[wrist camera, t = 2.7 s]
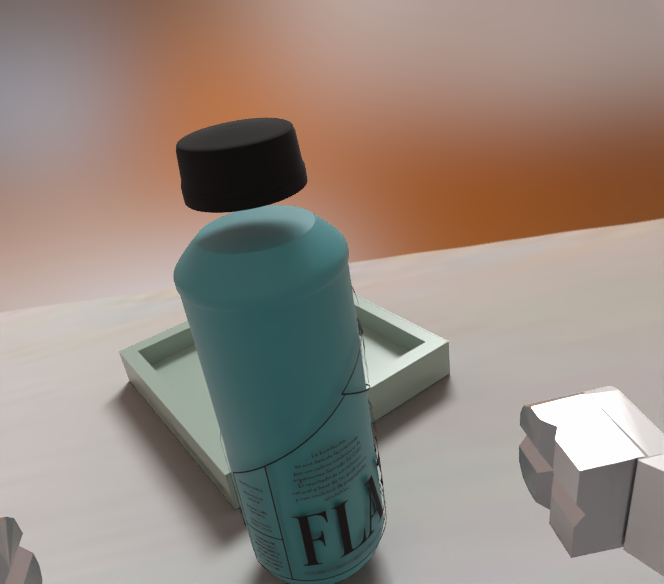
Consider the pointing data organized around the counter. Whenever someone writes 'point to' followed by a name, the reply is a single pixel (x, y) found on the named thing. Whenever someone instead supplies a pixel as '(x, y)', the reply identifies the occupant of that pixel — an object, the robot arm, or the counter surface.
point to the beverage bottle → (280, 353)
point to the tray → (195, 402)
